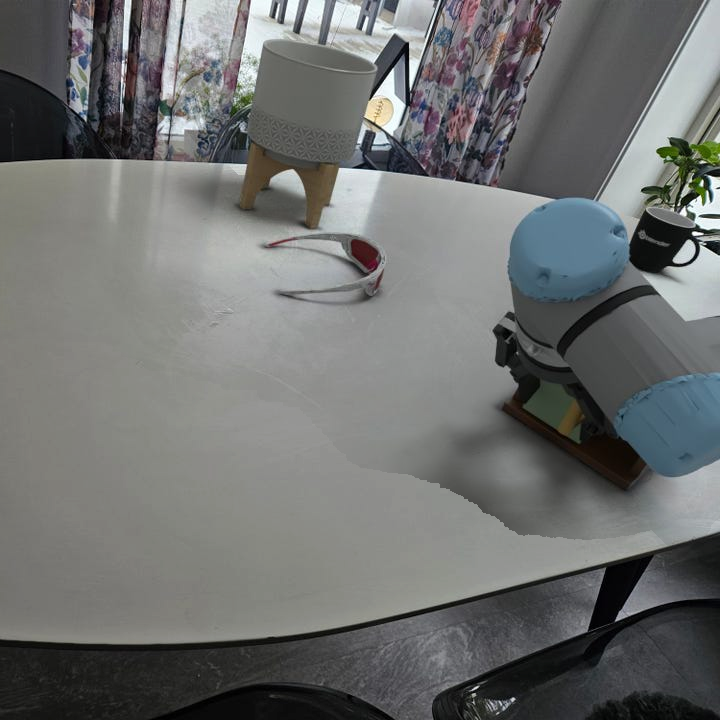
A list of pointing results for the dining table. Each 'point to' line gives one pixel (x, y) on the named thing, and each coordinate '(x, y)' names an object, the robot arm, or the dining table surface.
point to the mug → (661, 239)
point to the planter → (305, 118)
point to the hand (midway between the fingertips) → (559, 412)
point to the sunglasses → (360, 253)
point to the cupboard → (588, 448)
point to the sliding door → (557, 409)
